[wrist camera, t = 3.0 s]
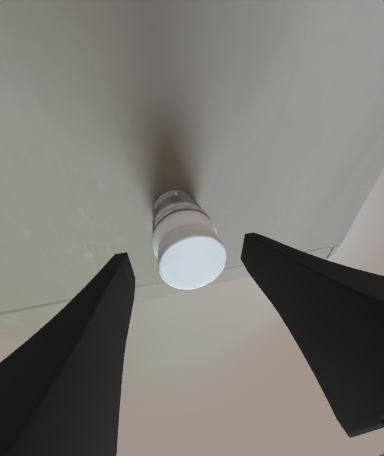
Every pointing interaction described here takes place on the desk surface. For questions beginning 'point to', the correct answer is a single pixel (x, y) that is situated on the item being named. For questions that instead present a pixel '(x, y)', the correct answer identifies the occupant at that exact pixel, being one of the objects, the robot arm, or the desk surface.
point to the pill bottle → (185, 242)
